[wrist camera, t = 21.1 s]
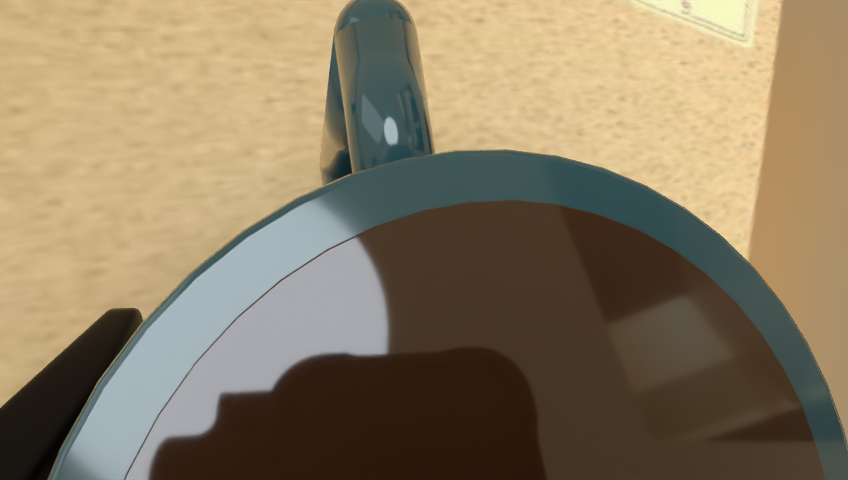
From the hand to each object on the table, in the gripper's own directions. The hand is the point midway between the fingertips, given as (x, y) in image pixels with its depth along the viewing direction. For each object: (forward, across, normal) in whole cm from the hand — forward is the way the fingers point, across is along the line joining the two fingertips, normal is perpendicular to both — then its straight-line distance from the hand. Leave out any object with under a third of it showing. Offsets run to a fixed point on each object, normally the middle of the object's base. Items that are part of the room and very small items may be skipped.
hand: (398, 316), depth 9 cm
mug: (+5, 0, +5) cm, 7 cm away
